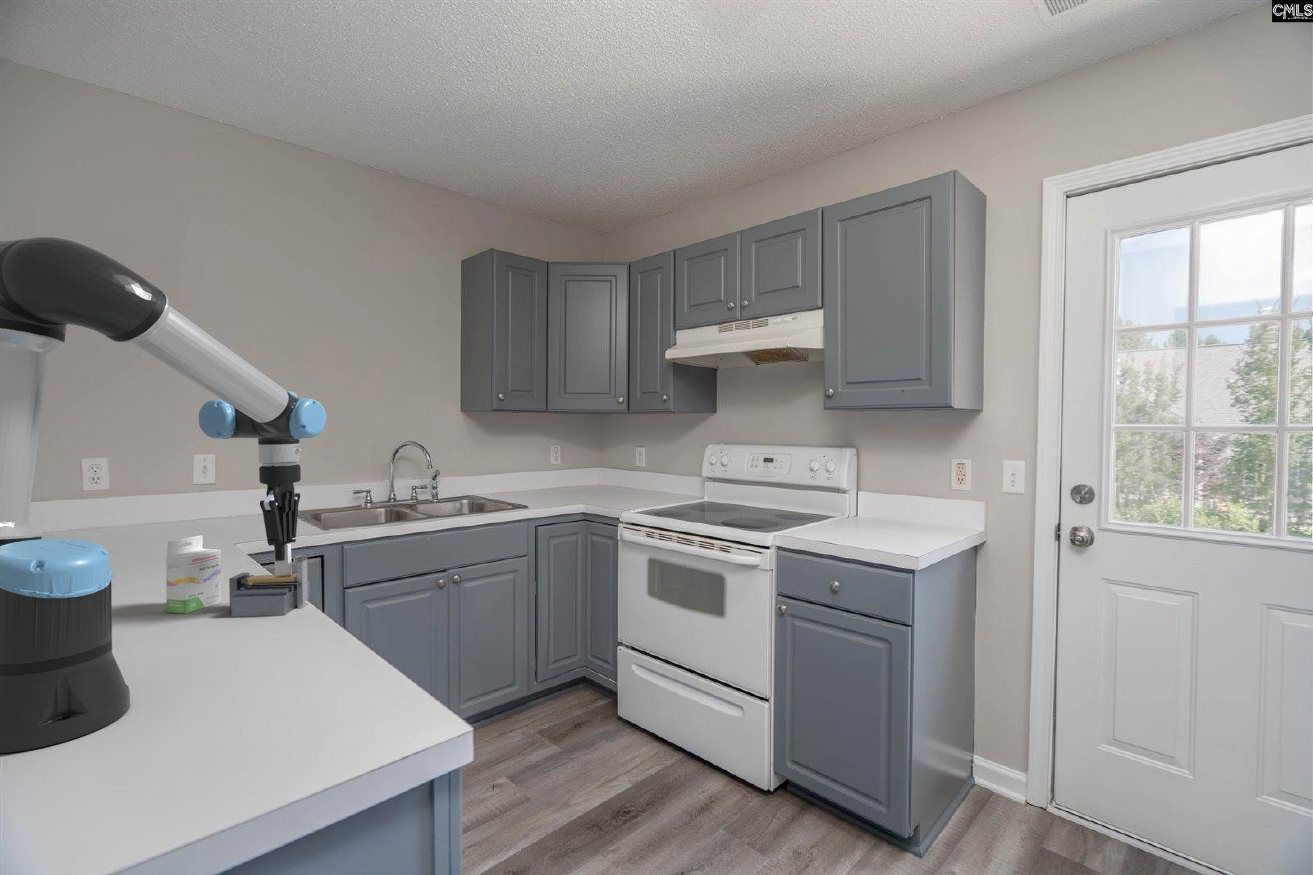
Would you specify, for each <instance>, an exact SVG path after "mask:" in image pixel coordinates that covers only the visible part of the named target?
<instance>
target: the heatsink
mask: <svg viewBox="0 0 1313 875" xmlns="http://www.w3.org/2000/svg"><path fill="white" fill-rule="evenodd" d="M292 562H293V563H296V566H297V568H296V569H297V571H296V572H297V573H296V574H297V580H296V581H295V582H277V583H256V584H244V585H240V584H239V581H240V580H241V579H244V578H246V577H248V576H250V572H240V573H239V574H235V575H234V576H231V577H229V579H228V581H229V584H228V585H229V586H228V587H229V589H228V590H229V613H231V618H241V617H242V618H243V617H246V618H247V617H269V616H270V617H271V616H286V615H287V614H289V613H290V612H292V611H294V610H295V609H296V608H297V609H303V608H306V607H307V606H308V604H309V603H308V604H307V603H306V602H305V601H307V602H308V601H309V600H311V581H310V580H308V554H298V555H295V556H293V557H292Z"/></svg>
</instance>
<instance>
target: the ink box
mask: <svg viewBox="0 0 1313 875" xmlns="http://www.w3.org/2000/svg"><path fill="white" fill-rule="evenodd" d="M185 543H187V544H190V545H186V546H181V545H184V544H185ZM203 543H204V538H203V535H196V536H190V537H184V538H179V539H175V540H168V542H167V547H166V548H167V549H166V550H167V551H166V553H167V554H166V559H165V560H166V562H165V564H166V566H165V567H166V569H165V571H166V573H165V574H166V576H165V577H166V613H173V614H189V613H192V612H195V611H200V610H202V609H205V608H208V607H211V606H215V605H218V604H220V603H221V602H222V601H221V600H222V585H221V584H222V583H221V582H222V573H221V572H222V571H221V570H222V567H221V566H222V563H221V562H222V557H221V556H222V553H221V552H222V550H221V549H213V548H211V549H210V548H203V545H204V544H203ZM180 546H181V547H180Z"/></svg>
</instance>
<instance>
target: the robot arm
mask: <svg viewBox="0 0 1313 875" xmlns="http://www.w3.org/2000/svg"><path fill="white" fill-rule="evenodd" d="M67 325H72V326H78V327H82V328H85V329H89V330H91V331H94V332H97V333H100V334H101V335H103V336H105V337H106V338H108V339H110V340H112V341H113V342H114V343H115V342H116V343H118V344H125V343H131V345H133V346H135V347H136V348H138V349H140V350H142V351H143V352H145V353H147V355H149V356H151V357H153V358H154V359H156V360H157V361H159V362H161V363H163V364H164V365H166V366H167V367H168V368H170V369H172V370H173V371H175V372H176V373H178V374H180V375H182V376H183V377H184V378H187V379H188V380H190V381H191V382H193V383H194V384H196V385H198V386H199V387H201V388H203V389H204V390H206V391H207V392H208V393H210V394H212V395H214V396H216V397H217V398H218V399H210V400H208V401H206V402H204V403H203V404H202V406H201V407H200V409H199V411H198V415H197V416H198V425H199V428H200V430H201V431H202V433H203V434H204V435H206V436H207V437H209V438H212V439H222V440H229V439H257V440H258V441H257V445H258V446H257V448H258V463H259V464H261V466H259V467H258V474H259V479H258V480H259V484H262V485H266V486H267V488H266V498H265V500H260V502H259V506H260V509H261V511H262V517H263V523H264V528H265V535H266V540H267V544H268V546H273V549H274V550H273V551H274V552H273V554H274V556H273V557H274V558H273V559H274V562H273V563H274V575H275V576H283V575H290V574H293V572H292V570H293V569H292V544H291V543H296V542H297V539H296V537H297V531H298V530H297V529H298V528H297V527H298V516H299V503H300V500H301V493H300V492H297V493H296V492H295V486H294V484H295V483H299V482H300V481H301V480H302V476H301V471H302V470H301V465H300V464H298V463H299V462H300V461H301V453H302V451H303V450H302V448H301V447H300V441H301V440H302V439H312V438H313V439H314V438H315V437H317V436H319V435H320V434H321V433H322V432H323V431H324V429H325V426H326V424H327V413H326V410H325V408H324V406H323V405H322V403H321V402H320V401H318V400H315V399H312V398H306V397H302V398H298V394H297V393H295V392H294V391H292V390H291V391H289V390H288V391H287V390H286V389H285V388H283V387H282V386H280V385H279V384H278V383H276V382H275V381H273V380H272V379H271V378H270V377H269V376H267V375H265V374H264V373H262V372H261V371H260V370H259V369H258V368H256V367H254V366H253V365H251V364H250V363H249V362H248V361H247V360H245V359H244V358H242V357H241V356H239V355H238V354H237V353H236V352H233V350H231V349H230V348H228V347H227V346H226V345H224V344H223V343H222V342H220V341H219V340H218V339H216V338H215V337H213V336H212V335H210V334H208V333H207V331H205V330H203V329H202V328H201V327H199V325H197V324H196V323H194V322H192V321H191V320H190V319H189V318H188V317H185V316H184V315H183V314H182V313H181V312H179V311H177V310H176V309H175V308H173V307H172V306H170V305H169V297H168V296H167V294H166V293H165V292H163V291H162V290H161V289H159V288H158V287H157V286H156V285H155V284H152V283H151V282H150V281H148V280H147V279H145V277H143V276H142V275H139V274H138V273H137V272H135V271H134V270H132V269H131V268H129V267H128V266H126V265H124V264H123V263H121V262H119V261H118V260H116V259H114V258H112V257H111V256H108V255H107V254H105V253H103V252H101V251H98V250H96V249H94V248H92V247H90V246H88V245H85V244H83V243H79V242H76V241H73V240H71V239H70V240H69V239H65V238H61V237H54V236H52V237H51V236H39V237H38V236H37V237H32V238H31V237H30V238H25V239H24V238H23V239H12V240H1V241H0V754H5V753H6V754H7V753H15V752H22V751H28V750H34V749H38V748H39V749H40V748H43V747H47V746H52V745H56V744H60V743H63V742H67V741H69V740H72V739H76V738H79V737H81V736H85V735H88V734H90V733H93V732H95V731H98V730H100V729H102V728H105V727H107V726H109V725H110V724H112V723H114V722H116V721H117V720H119V719H121V718H122V717H123V716H124V715H126V714H127V713H128V711H129V710H130V709H131V691H130V688H129V685H128V684H126V681H125V678H124V676H123V673H122V671H121V669H120V667H119V664H118V662H117V661H116V659H115V657H114V652H113V615H112V614H113V613H112V612H113V610H112V609H113V608H112V606H113V605H112V604H113V603H112V601H113V600H112V598H113V597H112V593H113V592H112V587H113V586H112V582H113V581H112V579H113V578H114V577H113V576H114V572H113V569H112V563H111V558H110V553H109V551H108V550H107V549H106V547H104V546H103V545H101V544H99V543H97V542H92V541H89V540H83V539H73V538H66V539H58V538H45V539H44V538H42V537H43V532H41V531H40V530H39V529H37V527H35V526H34V525H32V524H31V523H30V513H31V512H30V511H31V504H32V497H33V496H32V495H33V489H34V488H33V487H34V479H35V471H36V462H37V455H38V454H37V453H38V445H39V437H40V429H41V428H40V427H41V420H42V410H43V403H44V397H45V396H44V394H45V386H46V377H47V368H48V362H49V357H50V355H51V354H53V353H54V352H56V351H58V350H60V349H62V348H63V347H64V346H65V341H66V334H67V328H68V327H67Z"/></svg>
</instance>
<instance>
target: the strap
mask: <svg viewBox="0 0 1313 875" xmlns="http://www.w3.org/2000/svg"><path fill="white" fill-rule="evenodd" d="M296 580H297V573H292V574H290V575H283V576H275V574H264V575H263V574H262V575H261V574H260V575H259V574H257V575H254V574H249V576H248V577H246V578H244V579H241V580H240V581H239V584H240V585H244V584H256V583H277V582H295V581H296Z"/></svg>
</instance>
